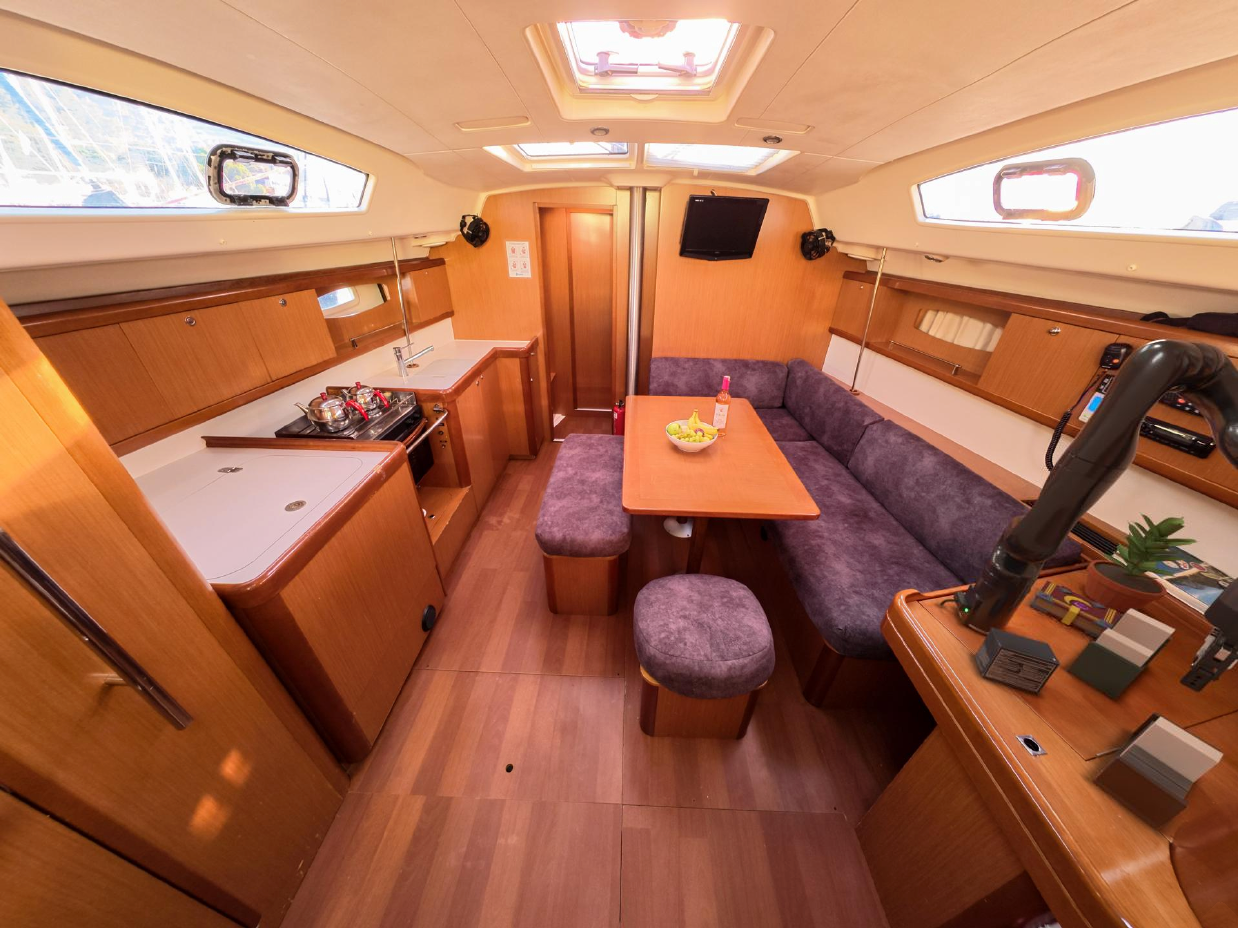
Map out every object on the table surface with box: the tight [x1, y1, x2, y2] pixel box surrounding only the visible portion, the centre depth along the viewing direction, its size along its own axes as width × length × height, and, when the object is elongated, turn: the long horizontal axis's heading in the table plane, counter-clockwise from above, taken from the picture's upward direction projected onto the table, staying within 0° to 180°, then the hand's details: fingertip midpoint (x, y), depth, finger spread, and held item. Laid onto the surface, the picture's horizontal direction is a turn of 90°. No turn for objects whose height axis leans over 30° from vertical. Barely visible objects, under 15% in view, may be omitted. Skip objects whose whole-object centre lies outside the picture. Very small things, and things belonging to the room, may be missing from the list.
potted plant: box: [1084, 513, 1198, 614], centre depth 111 cm, size 15×15×30 cm
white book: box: [1120, 717, 1224, 783], centre depth 72 cm, size 3×7×12 cm, turn 26°
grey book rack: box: [1092, 711, 1222, 831], centre depth 74 cm, size 20×8×8 cm, turn 116°
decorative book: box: [1029, 580, 1122, 640], centre depth 110 cm, size 11×16×5 cm
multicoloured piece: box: [1066, 608, 1176, 700], centre depth 94 cm, size 20×8×13 cm, turn 116°
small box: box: [973, 628, 1061, 696], centre depth 92 cm, size 11×6×10 cm, turn 65°
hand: (1195, 676), depth 71 cm, fingers open, 8 cm apart
